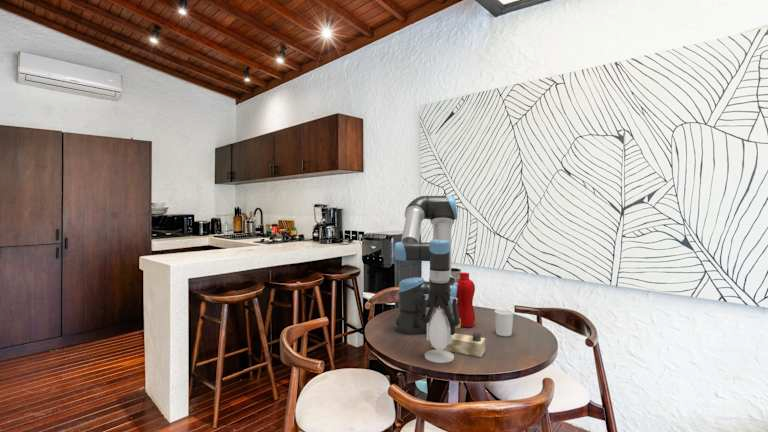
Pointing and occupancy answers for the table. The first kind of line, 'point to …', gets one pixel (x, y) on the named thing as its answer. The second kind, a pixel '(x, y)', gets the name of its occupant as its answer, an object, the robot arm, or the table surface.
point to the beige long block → (467, 344)
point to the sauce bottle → (439, 330)
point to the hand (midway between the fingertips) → (439, 341)
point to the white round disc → (439, 356)
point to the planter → (456, 275)
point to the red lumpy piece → (465, 300)
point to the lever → (458, 325)
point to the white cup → (503, 322)
